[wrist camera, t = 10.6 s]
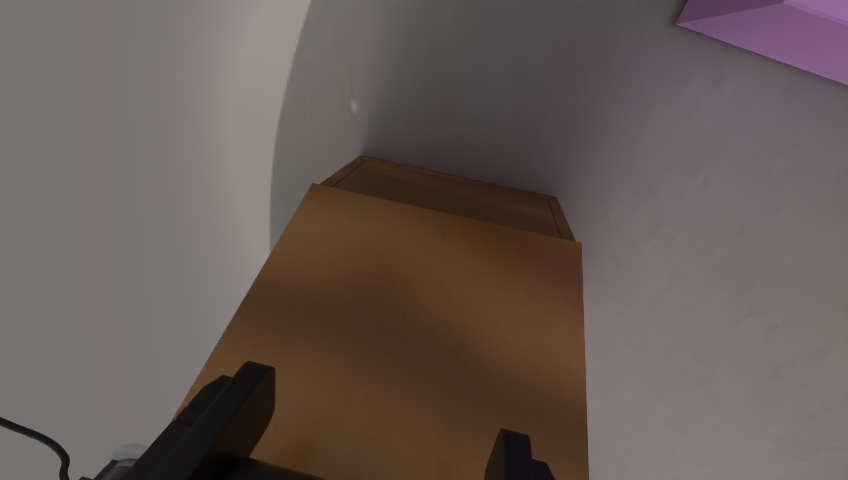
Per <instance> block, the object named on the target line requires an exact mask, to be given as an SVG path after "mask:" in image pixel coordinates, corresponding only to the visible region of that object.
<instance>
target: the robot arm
mask: <svg viewBox="0 0 848 480" xmlns="http://www.w3.org/2000/svg"><path fill="white" fill-rule="evenodd" d="M275 396H276V370H275V368H274V367H272V366H268V365H264V364H261V363H257V362H253V361H247V362H245V363H244V364H243V365H242V366H241V367H240V369H239V370H238V371H237V372H236V373H235V375H234V376H233V377H229V376H225V375H222V376H220V377H218V378H217V379H215V380H213V381H212V382H210V383H209V384H207V385H205V386H204V387H203V388H202V389H201V390H200V391H199V392H198V393H197V394H196V395H195V397H194V398H193V399H192V400H191V401H190V402H189V404H188V406H186V407H185V408H184V409H183V410H182V411H181V412H180V413H179V414H178V415H177V417H176V419H175V420H173V421H172V422H171V423H170V424H169V425H168V427H167V428H166V429H165V430H164V431H163V432H162V433H161V434H160V435H159V437H158V438H157V439H156V440H155V441H154V442H153V443H152V445H151V446H150V447H149V448H148V449H147V450H146V451H145V452H144V453H143V454H142V456H141V457H140V458H139V459H123V460H121V461H118V460H114V459H112V460H111V461H110V462H109V463H108V464H107V465H106V466H105V467H104V468H103V469H102V471H101V472H100V473H99V474H98V475H97V476H96V477H95V478H94V479H90V478H86V477H81V478H80V479H79V480H222V478H223V477H224V475H225V474H226V472H227V471H228V470H229V468H230V467H231V466H232V465H233V463H234V462H235V461H237V460H238V459H239V458H241V457H246V456H247V457H249V456H250V455H251V453H252V451H253V450H254V448H255V447H256V445H257V443H258V442H259V440H260V439H261V437H262V435H263V434H264V432H265V431H266V429H267V427H268V425H269V424H270V421H271V419H272V416H273V413H274V410H275ZM0 426H3V427H5V428H7V429H10V430H13V431H15V432H18V433H21V434H23V435H26V436H28V437H31V438H33V439H36V440H38V441H40V442H42V443H44V444H46V445H47V446H49V447H50V448H51V449H52V450H54V451H55V452H56V453H57V455H58V456H59V457H60V459H61V461H62V464H61V468H60V473H59V477H60V480H70V479H69V477H68V467H69V463H70V458H69V455H68V454H67V453H66V451H65V450H64V449H63V448H62V447H61V446H60V445H59V444H58V443H57V442H55V441H54V440H52V439H51V438H49V437H47V436H45V435H43V434H41V433H39V432H36V431H34V430H31V429H28V428H26V427H23V426H20V425H18V424H15V423H13V422H11V421H8V420H6V419H4V418H1V417H0ZM484 480H555V478H554V476H553V474H552V472H551V470H550V468H549V466H548V464H547V462H543V461H539V460H535V459H532V449H531V440H530V437H529V435H527V434H523V433H519V432H515V431H512V430H508V429H504V428H501V429H500V431H499V433H498V436H497V438H496V441H495V444H494V446H493V449H492V452H491V454H490V457H489V460H488V463H487V466H486V470H485V476H484Z"/></svg>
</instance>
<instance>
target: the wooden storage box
mask: <svg viewBox="0 0 848 480" xmlns="http://www.w3.org/2000/svg"><path fill="white" fill-rule="evenodd" d="M319 185H323V186H328V187H332V188H337V189H341V190H346V191H350V192H355V193H359V194H364V195H368V196H373V197H377V198H382V199H386V200H391V201H395V202H400V203H404V204H409V205H413V206H418V207H422V208H426V209H431V210H435V211H440V212H444V213H449V214H453V215H458V216H462V217H467V218H471V219H476V220H480V221H485V222H489V223H494V224H498V225H503V226H507V227H512V228H516V229H521V230H525V231H530V232H534V233H538V234H543V235H547V236H552V237H556V238H561V239H565V240H570V241H574V242H576V241H575V239H574V236H573V234H572V232H571V229H570V227H569V225H568V223H567V220H566V218H565V216H564V214H563V211H562V209H561V207H560V204H559V202H558V200H557V198H554V197H549V196H545V195H540V194H535V193H531V192H526V191H521V190H517V189H512V188H507V187H503V186H498V185H494V184H489V183H484V182H480V181H475V180H470V179H466V178H461V177H456V176H452V175H447V174H443V173H438V172H433V171H429V170H424V169H419V168H415V167H410V166H405V165H401V164H396V163H392V162H387V161H382V160H378V159H373V158H368V157H364V156H359V157H357V158H356V159H354V160H353V161H352V162H350V163H349V164H347V165H346V166H345V167H343V168H342V169H340V170H339V171H337V172H336V173H335V174H333V175H332V176H330V177H329V178H327V179H326V180H325V181H323V182H322V183H320V184H319Z"/></svg>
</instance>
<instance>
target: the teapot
mask: <svg viewBox="0 0 848 480" xmlns="http://www.w3.org/2000/svg"><path fill="white" fill-rule="evenodd" d="M676 24H677V25H679V26H682V27H685V28H688V29H690V30H693V31H696V32H699V33H702V34H704V35H707V36H710V37H713V38H716V39H718V40H721V41H724V42H727V43H730V44H732V45H735V46H738V47H741V48H744V49H747V50H749V51H752V52H755V53H758V54H761V55H763V56H766V57H769V58H772V59H775V60H777V61H780V62H783V63H786V64H789V65H792V66H794V67H797V68H800V69H803V70H806V71H809V72H811V73H814V74H817V75H820V76H823V77H826V78H829V79H831V80H834V81H837V82H840V83H843V84H846V85H848V0H688V1H687V3H686V5H685V7H684V9H683V11H682V13H681V14H680V16H679V18H678V20H677V22H676Z"/></svg>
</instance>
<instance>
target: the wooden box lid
mask: <svg viewBox="0 0 848 480" xmlns="http://www.w3.org/2000/svg"><path fill="white" fill-rule="evenodd" d="M247 361H253V362H257V363H261V364H264V365H268V366H272V367H274V368H275V370H276V396H275V410H274V413H273V416H272V419H271V421H270V424H269V425H268V427H267V429H266V431H265V432H264V434H263V435H262V437H261V439H260V440H259V442H258V443H257V445H256V447H255V448H254V450H253V451H252V453H251V455H250V456H249V457H247V456H246V457H241V458H239V459H238V460H237V461H235V462H234V463H233V465H232V466H231V467H230V468H229V470H228V471H227V472H226V474H225V475H224V477H223V478H222V480H484V476H485V470H486V466H487V463H488V460H489V457H490V454H491V452H492V449H493V446H494V444H495V441H496V438H497V436H498V433H499V431H500V429H501V428H504V429H508V430H512V431H515V432H519V433H523V434H527V435H529V437H530V440H531V449H532V459H535V460H539V461H543V462H547V464H548V466H549V468H550V470H551V472H552V474H553V476H554V478H555V480H589V467H588V435H587V403H586V371H585V340H584V308H583V276H582V244H581V243H579V242H574V241H570V240H565V239H561V238H556V237H552V236H547V235H543V234H538V233H534V232H530V231H525V230H521V229H516V228H512V227H507V226H503V225H498V224H494V223H489V222H485V221H480V220H476V219H471V218H467V217H462V216H458V215H453V214H449V213H444V212H440V211H435V210H431V209H426V208H422V207H418V206H413V205H409V204H404V203H400V202H395V201H391V200H386V199H382V198H377V197H373V196H368V195H364V194H359V193H355V192H350V191H346V190H341V189H337V188H332V187H328V186H323V185H319V184H315V183H312V185H311V186H310V188H309V190H308V191H307V193H306V195H305V196H304V198H303V200H302V201H301V203H300V205H299V207H298V208H297V210H296V212H295V213H294V215H293V217H292V218H291V220H290V222H289V223H288V225H287V227H286V228H285V230H284V232H283V234H282V235H281V237H280V239H279V240H278V242H277V244H276V245H275V247H274V249H273V250H272V252H271V254H270V255H269V257H268V259H267V261H266V262H265V264H264V266H263V267H262V269H261V271H260V272H259V274H258V276H257V278H256V279H255V281H254V283H253V284H252V286H251V288H250V289H249V291H248V293H247V294H246V296H245V298H244V299H243V301H242V303H241V305H240V306H239V308H238V310H237V311H236V313H235V315H234V316H233V318H232V320H231V321H230V323H229V325H228V326H227V328H226V330H225V331H224V333H223V335H222V337H221V338H220V340H219V342H218V343H217V345H216V347H215V348H214V350H213V352H212V353H211V355H210V357H209V358H208V360H207V362H206V364H205V365H204V367H203V369H202V370H201V372H200V374H199V375H198V377H197V379H196V380H195V382H194V384H193V386H192V387H191V389H190V391H189V392H188V394H187V396H186V397H185V399H184V401H183V403H182V404H181V406H180V407H179V409H178V411H177V413H176V414H175V416H174V418H173V419H172V421H173V420H175V419H176V417H177V415H178V414H179V413H180V412H181V411H182V410H183V409H184V408H185V407H186V406H188V404H189V402H190V401H191V400H192V399H193V398H194V397H195V395H196V394H197V393H198V392H199V391H200V390H201V389H202V388H203V387H204V386H205V385H207V384H209V383H210V382H212V381H213V380H215V379H217V378H218V377H220V376H222V375H225V376H229V377H233V376H234V375H235V373H236V372H237V371H238V370H239V369H240V367H241V366H242V365H243V364H244V363H245V362H247ZM172 421H171V422H172Z"/></svg>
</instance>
